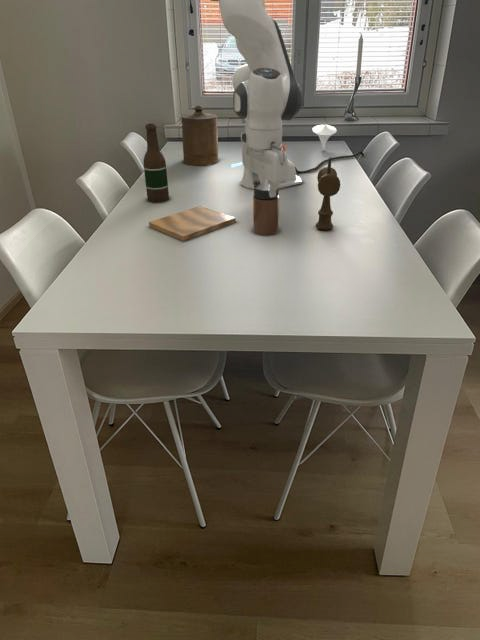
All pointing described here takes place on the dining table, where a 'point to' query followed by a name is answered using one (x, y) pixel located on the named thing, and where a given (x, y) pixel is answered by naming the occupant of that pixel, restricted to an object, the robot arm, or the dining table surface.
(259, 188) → the lid
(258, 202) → the jar
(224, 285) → the dining table surface
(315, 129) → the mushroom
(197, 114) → the wooden container
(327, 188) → the kendama
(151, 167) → the beer bottle
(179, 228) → the board
